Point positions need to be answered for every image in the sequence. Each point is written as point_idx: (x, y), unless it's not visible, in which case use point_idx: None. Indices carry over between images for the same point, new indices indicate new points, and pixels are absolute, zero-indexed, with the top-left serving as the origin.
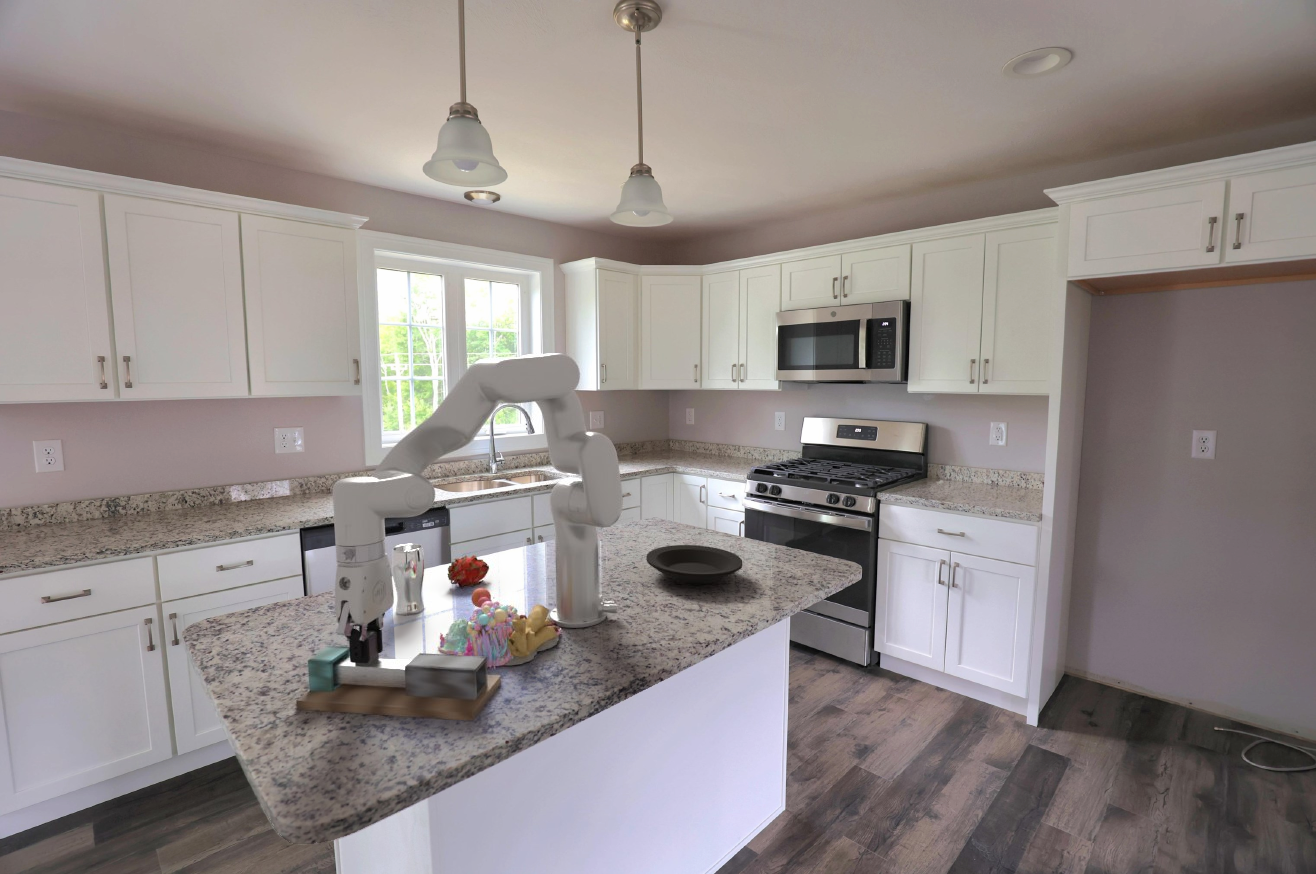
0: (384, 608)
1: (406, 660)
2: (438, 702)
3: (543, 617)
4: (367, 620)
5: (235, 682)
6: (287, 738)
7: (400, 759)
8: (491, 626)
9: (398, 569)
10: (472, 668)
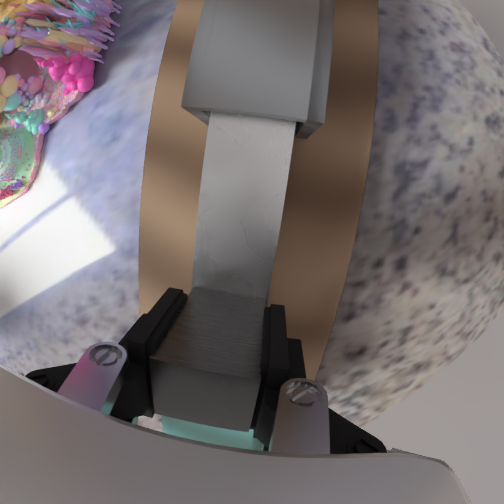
0: (57, 433)
1: (208, 160)
2: (344, 41)
3: None
4: (408, 476)
5: None
6: (411, 350)
7: (492, 107)
8: (6, 40)
9: None
10: None
